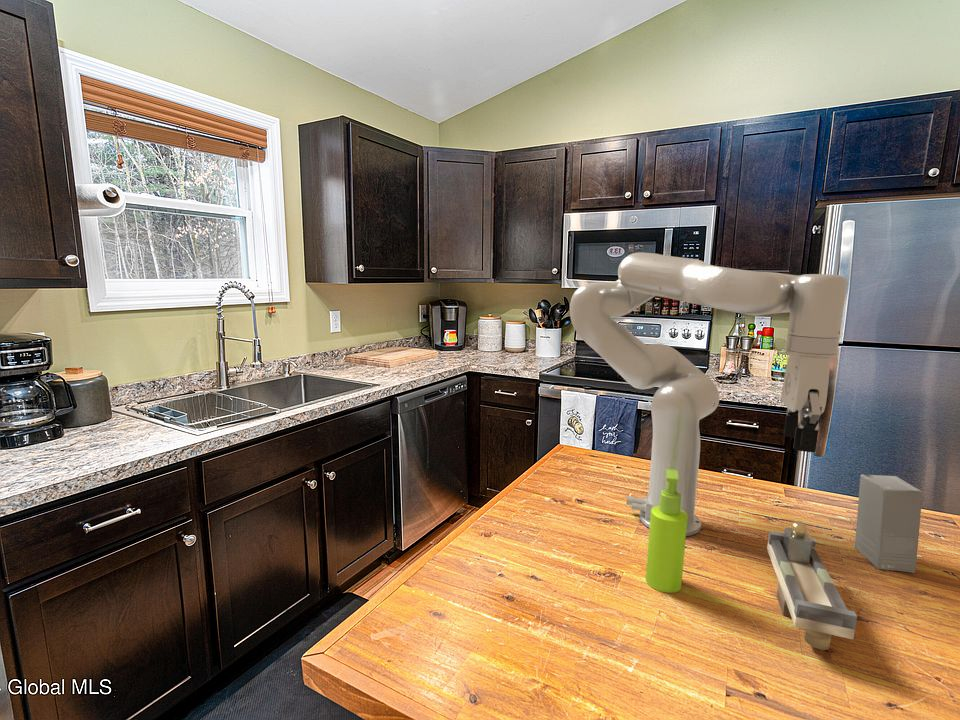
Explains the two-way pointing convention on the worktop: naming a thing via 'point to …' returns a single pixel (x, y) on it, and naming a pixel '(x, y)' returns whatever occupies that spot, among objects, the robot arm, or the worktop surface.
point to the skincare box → (888, 522)
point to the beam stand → (810, 596)
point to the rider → (797, 543)
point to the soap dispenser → (667, 539)
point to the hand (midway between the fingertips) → (798, 443)
